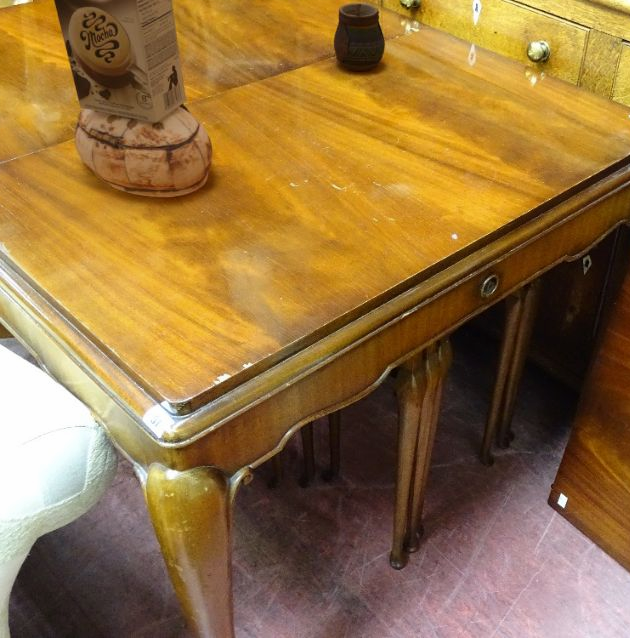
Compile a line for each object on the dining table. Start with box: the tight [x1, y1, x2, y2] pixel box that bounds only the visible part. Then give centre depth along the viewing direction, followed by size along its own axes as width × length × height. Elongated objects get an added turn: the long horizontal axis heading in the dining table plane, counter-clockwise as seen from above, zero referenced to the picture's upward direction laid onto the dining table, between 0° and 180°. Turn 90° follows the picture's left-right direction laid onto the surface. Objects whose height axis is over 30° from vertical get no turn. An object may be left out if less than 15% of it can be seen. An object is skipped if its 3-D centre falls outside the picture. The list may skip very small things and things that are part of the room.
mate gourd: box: [333, 2, 386, 72], centre depth 108 cm, size 7×8×10 cm
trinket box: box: [74, 103, 213, 198], centre depth 83 cm, size 13×15×8 cm
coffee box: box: [53, 0, 187, 123], centre depth 75 cm, size 9×6×16 cm
